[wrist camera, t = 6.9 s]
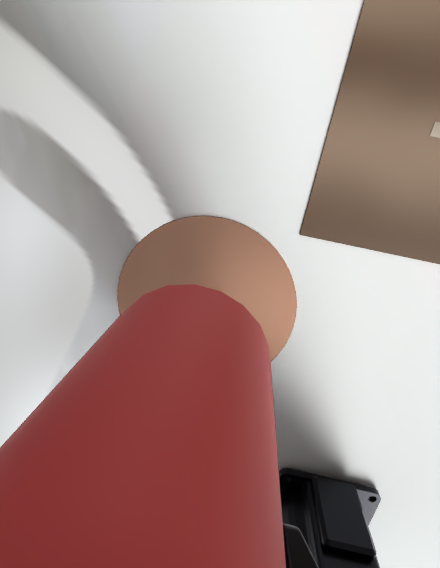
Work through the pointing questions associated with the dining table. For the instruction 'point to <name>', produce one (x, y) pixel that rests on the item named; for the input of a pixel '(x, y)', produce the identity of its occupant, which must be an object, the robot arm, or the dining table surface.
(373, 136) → the board
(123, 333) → the beer can
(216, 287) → the coaster
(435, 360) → the dining table surface
